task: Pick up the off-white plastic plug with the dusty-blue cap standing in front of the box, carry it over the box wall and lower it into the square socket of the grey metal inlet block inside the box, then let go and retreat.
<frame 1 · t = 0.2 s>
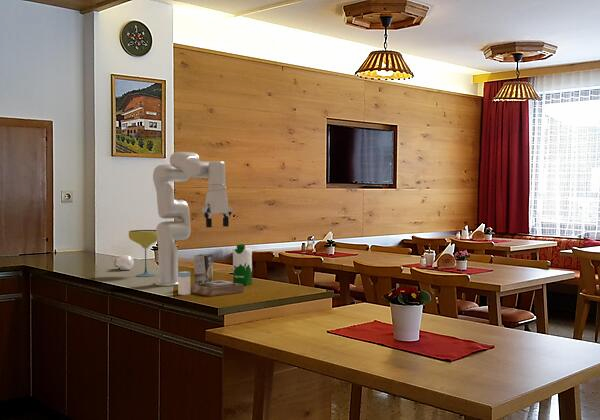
hand: (217, 226, 301), 31 cm above the table, tool pointing down, fingers open, 9 cm apart
inlet block: (219, 292, 309), resting on walled box
milk carton: (242, 284, 334), on the table
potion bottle: (123, 270, 401), on the table
walled box: (217, 292, 308), on the table
plug: (184, 294, 304), on the table
cocktail glass: (145, 276, 372), on the table
coffee box: (203, 288, 322), on the table
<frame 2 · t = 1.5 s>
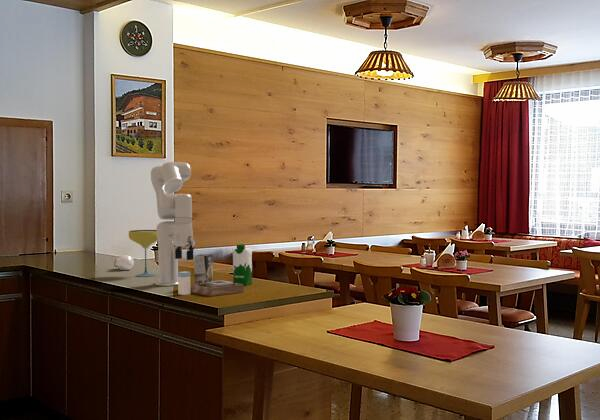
hand: (184, 259, 303), 16 cm above the table, tool pointing down, fingers open, 9 cm apart
nothing on the table moved.
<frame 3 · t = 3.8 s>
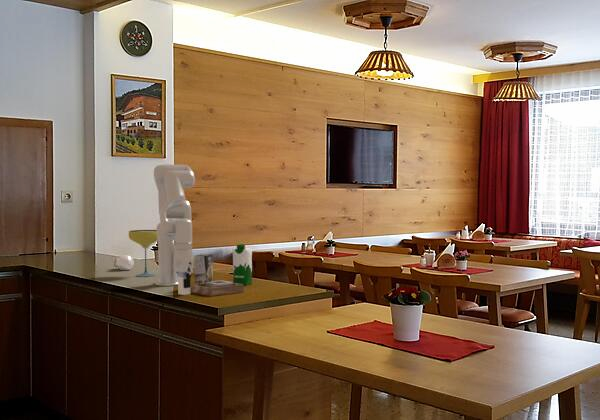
hand: (184, 286, 304), 3 cm above the table, tool pointing down, fingers closed on plug, 4 cm apart
plug: (184, 294, 304), on the table, touching gripper
everything else where it was.
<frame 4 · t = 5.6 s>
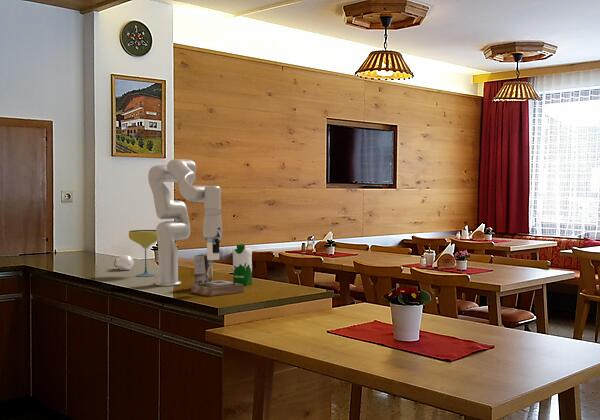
hand: (213, 252, 307), 19 cm above the table, tool pointing down, fingers closed on plug, 4 cm apart
plug: (213, 259, 308), point 15 cm above the table, touching gripper
everything else where it was.
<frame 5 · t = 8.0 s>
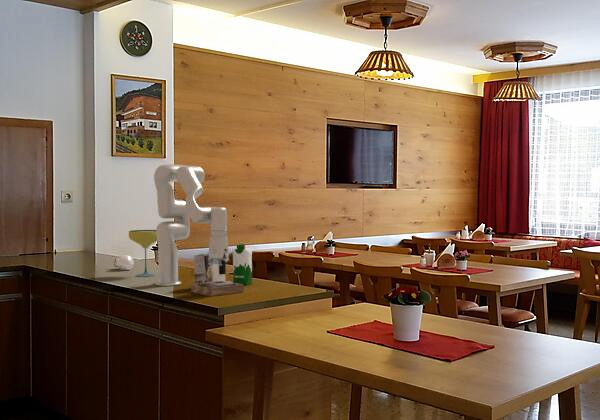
hand: (219, 273, 309), 9 cm above the table, tool pointing down, fingers closed on plug, 4 cm apart
plug: (219, 280, 309), point 5 cm above the table, touching gripper
everything else where it was.
when the fingers open (5 cm above the table, at t = 9.6 s): plug drops 2 cm, resting on walled box.
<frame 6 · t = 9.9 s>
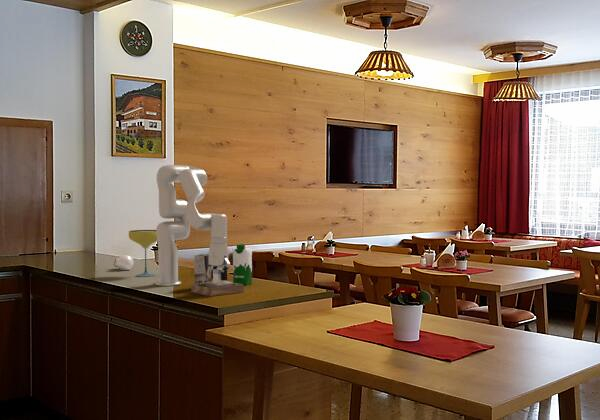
hand: (219, 279, 309), 6 cm above the table, tool pointing down, fingers open, 7 cm apart
plug: (219, 290, 309), point 1 cm above the table, touching walled box
everything else where it was.
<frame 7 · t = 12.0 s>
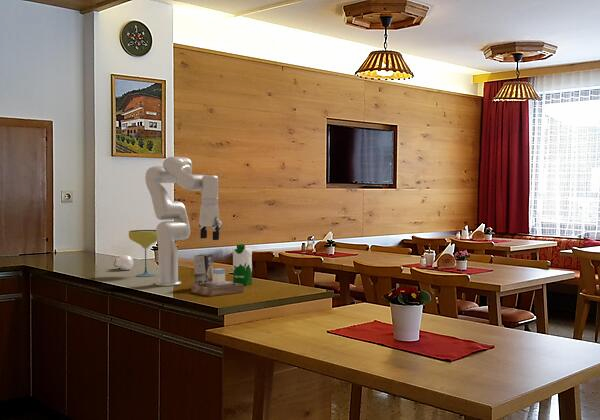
hand: (209, 239, 309), 24 cm above the table, tool pointing down, fingers open, 9 cm apart
nothing on the table moved.
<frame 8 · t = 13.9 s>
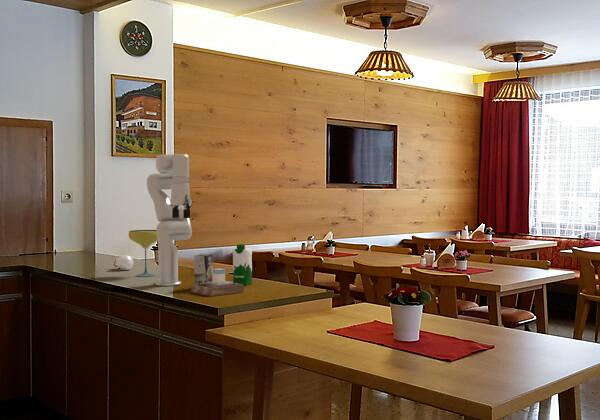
hand: (181, 217, 310), 34 cm above the table, tool pointing down, fingers open, 9 cm apart
nothing on the table moved.
at the end: plug 0.2 cm off-centre on the inlet block, point 0.6 cm above the inlet block's base; plug tilted 0°; the gripper is holding nothing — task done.
